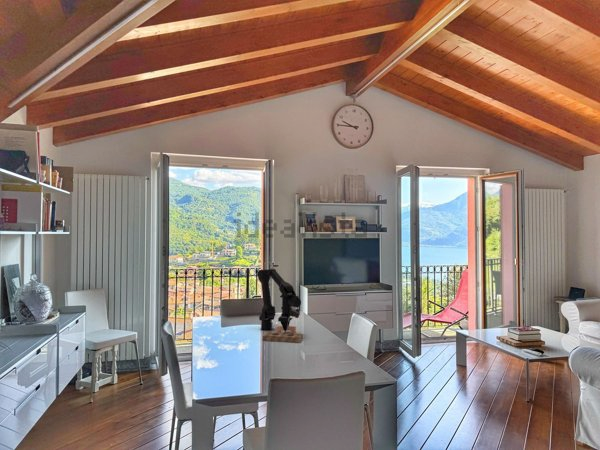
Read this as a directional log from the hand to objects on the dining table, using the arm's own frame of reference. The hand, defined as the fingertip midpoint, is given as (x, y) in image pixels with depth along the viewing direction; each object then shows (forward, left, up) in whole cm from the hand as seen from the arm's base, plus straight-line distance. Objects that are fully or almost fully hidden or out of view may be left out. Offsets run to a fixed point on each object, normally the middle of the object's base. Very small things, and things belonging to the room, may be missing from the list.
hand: (286, 330), depth 252 cm
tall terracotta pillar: (0, 0, -2) cm, 2 cm away
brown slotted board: (+1, -13, -2) cm, 13 cm away
